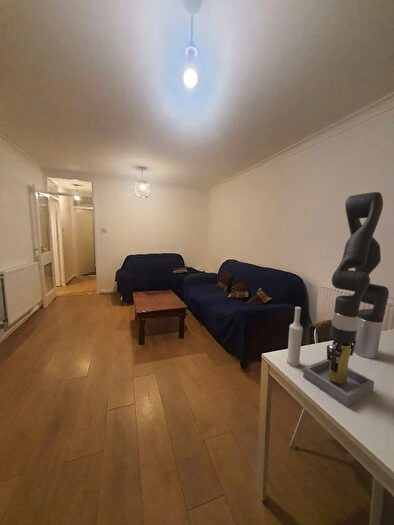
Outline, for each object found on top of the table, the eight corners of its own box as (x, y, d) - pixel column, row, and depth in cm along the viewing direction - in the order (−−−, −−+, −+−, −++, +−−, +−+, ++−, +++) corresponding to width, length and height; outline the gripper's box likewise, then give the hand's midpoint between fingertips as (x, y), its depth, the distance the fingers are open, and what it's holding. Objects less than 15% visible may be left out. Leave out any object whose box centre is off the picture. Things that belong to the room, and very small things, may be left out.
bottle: (293, 368, 90) (298, 310, 86) (283, 361, 94) (288, 306, 90) (302, 365, 92) (308, 308, 88) (292, 358, 96) (297, 304, 93)
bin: (328, 366, 91) (329, 357, 91) (372, 391, 77) (374, 381, 77) (303, 377, 84) (304, 367, 83) (346, 407, 70) (348, 396, 69)
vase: (350, 385, 77) (355, 348, 75) (331, 382, 78) (336, 345, 76) (342, 374, 83) (347, 339, 81) (324, 371, 84) (329, 337, 82)
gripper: (344, 318, 84) (339, 358, 86) (321, 324, 77) (316, 368, 80) (367, 326, 77) (360, 369, 80) (343, 333, 71) (337, 380, 73)
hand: (338, 368), depth 80 cm, fingers closed on vase, 5 cm apart
